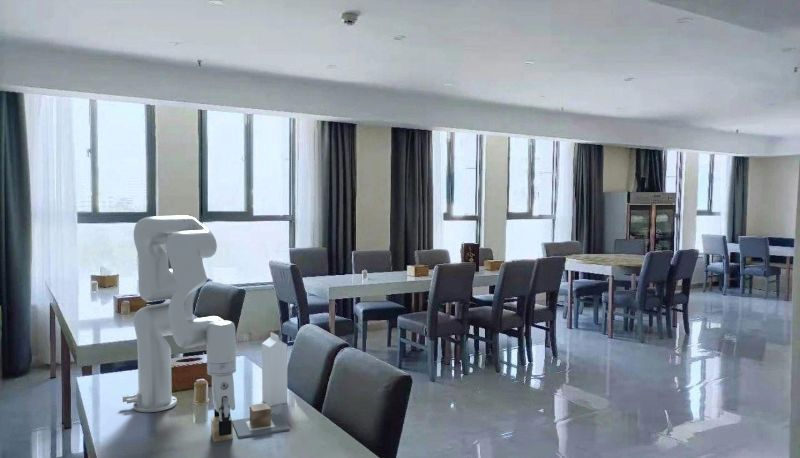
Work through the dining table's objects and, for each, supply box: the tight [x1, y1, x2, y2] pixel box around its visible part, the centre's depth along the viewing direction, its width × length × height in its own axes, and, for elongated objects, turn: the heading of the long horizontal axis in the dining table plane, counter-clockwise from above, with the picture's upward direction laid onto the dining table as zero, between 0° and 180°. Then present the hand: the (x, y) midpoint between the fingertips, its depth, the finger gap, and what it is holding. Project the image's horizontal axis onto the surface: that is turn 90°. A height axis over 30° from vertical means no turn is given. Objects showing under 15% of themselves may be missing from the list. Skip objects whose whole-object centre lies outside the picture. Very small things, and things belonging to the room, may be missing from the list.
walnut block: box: [249, 402, 272, 429], centre depth 167 cm, size 5×5×5 cm
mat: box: [232, 412, 290, 439], centre depth 167 cm, size 14×12×1 cm
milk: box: [261, 332, 288, 407], centre depth 186 cm, size 6×6×22 cm
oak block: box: [210, 416, 234, 443], centre depth 160 cm, size 5×5×5 cm
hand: (222, 428), depth 160 cm, fingers open, 9 cm apart
